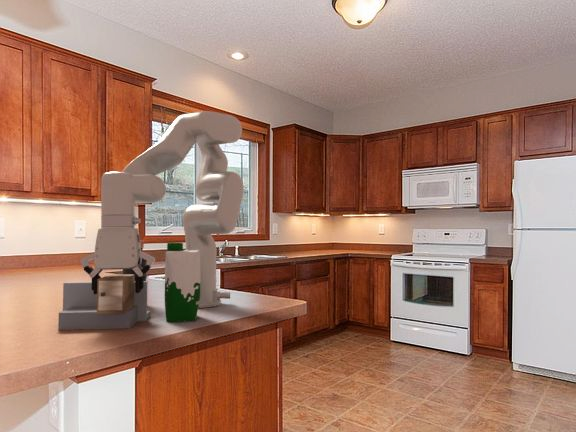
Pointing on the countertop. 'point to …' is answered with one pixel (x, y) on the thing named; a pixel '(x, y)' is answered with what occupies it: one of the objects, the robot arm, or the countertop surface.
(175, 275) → the milk carton
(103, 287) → the tan wooden block
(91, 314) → the wall board
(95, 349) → the countertop surface
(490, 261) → the countertop surface
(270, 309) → the countertop surface
